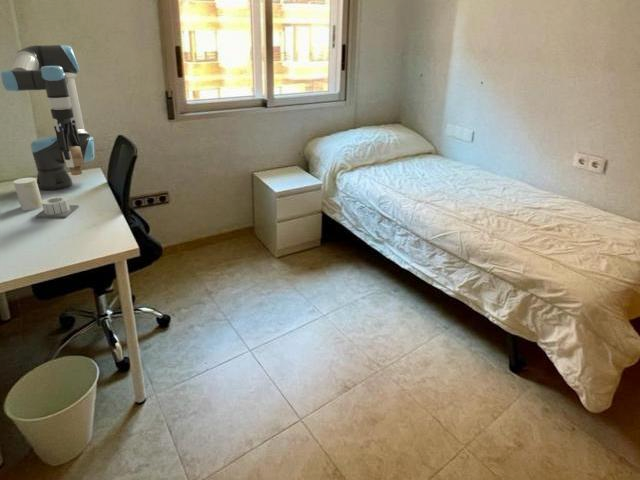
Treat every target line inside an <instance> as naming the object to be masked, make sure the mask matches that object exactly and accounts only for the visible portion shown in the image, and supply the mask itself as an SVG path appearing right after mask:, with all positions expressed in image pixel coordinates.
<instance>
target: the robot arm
mask: <svg viewBox="0 0 640 480" xmlns="http://www.w3.org/2000/svg"><path fill="white" fill-rule="evenodd" d="M12 61H13V65H12V68H11V70H10V69H8V70H1V72H0V78H1V83H2V85H3V87H4V89H5V90H6V91H9V92H14V91H15V92H18V91H19V92H20V91H21V92H23V91H45V92H46V97H47V102H48V104H49V107H50V108H51V109H50V112H51V113H50V114H51V117H52V119H53V120H56V121H57V122H56V124H57V125H55V126H54V125H53V126H54V127H53V128H54V132H55V134H56V135H54V136H53V135H51V136H49V135H48V136H44V137H40V138H37V139H34V140H32V141H31V143H30V149H31V153H32V156H33V160H34V163H35V167H36V170H37V177H36V181H37V184H38V188H39V191H40V190H41V191H56V190H62V189H64V188H68V187H70V186H72V185H73V180H72V178H71V175H70V174H69V173H68V171H67V170H66V168H70V167H74V163H73V159H72V155H71V151H69V146H79V147H80V148H81V153H82V157H83V162H84V163H86V162H87V163H88V162H92V161H93V160H94V159H95V144H94V143H95V142H94V137H93V136H90V133H89V132H88V131H87V130H86V128H85V124H84V119H83V114H82V110H81V105H80V104H81V103H80V100H79V94H78V91H77V90H78V89H77V86H76V80H75V79H76V78H77V77H78V73H79V72H81V70H80V67H79V64H78V61H77V58H76V56H75V53H74V50H73V48H72V46H70V45H61V44H57V45H55V44H54V45H53V44H52V45H51V44H50V45H49V44H48V45H45V44H44V45H41V44H40V45H38V44H37V45H30V46H26V47H23V48H21V49H20V50H18V51H17V52H16V53H15V55H14V57H13V59H12ZM62 152H63V154H64V158H65V162H66V166H65V163H64V159H63V155H62Z"/></svg>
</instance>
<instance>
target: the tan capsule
mask: <svg viewBox="0 0 640 480" xmlns="http://www.w3.org/2000/svg"><path fill="white" fill-rule="evenodd" d="M69 151H71V155H72V159H73V163H74V167H69V169H70V173H71V175H72V176H81V175H82V174H83V172H82V168H81V166H83V165H85V162H83V157H82V153H81V148H80V147H79V146H69ZM62 155H63V159H64V163H65V164H64V167H67V166H66V162H65V158H64V154H63V152H62Z"/></svg>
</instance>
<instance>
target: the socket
mask: <svg viewBox="0 0 640 480" xmlns="http://www.w3.org/2000/svg"><path fill="white" fill-rule="evenodd" d="M42 206H43V207H42V210H41V211H40V212H38V213H37V214H36V215H35V219H67V218H68V217H69V216H70V215H72V214H73V213H74V212H75V211H76V210H77V209H79V208H80V206H79V204H70V202H69V199H68V197H67V196H59V195H58V196H52V197H48V198H45V199H42Z"/></svg>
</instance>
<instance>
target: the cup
mask: <svg viewBox="0 0 640 480" xmlns="http://www.w3.org/2000/svg"><path fill="white" fill-rule="evenodd" d="M13 185H14V188H15V192H16V195H17V198H18V202H19V205H20V208H21V210H22V211H35V210H38V209H41V208H43V206H42V201H43V199H42V196H41V192H40V189H39V188H38V184H37V177H23V178H22V177H21V178H17V179H15V180H13Z"/></svg>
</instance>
